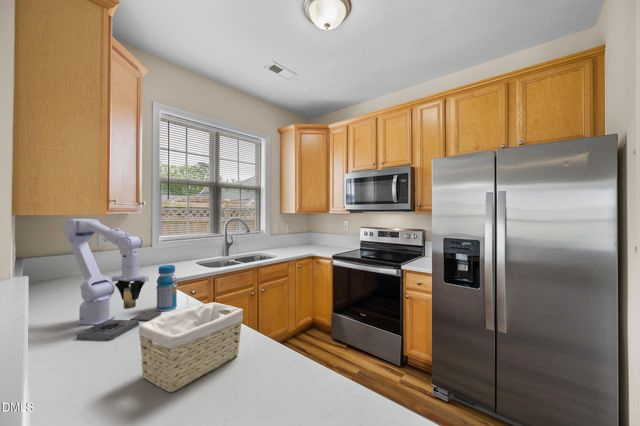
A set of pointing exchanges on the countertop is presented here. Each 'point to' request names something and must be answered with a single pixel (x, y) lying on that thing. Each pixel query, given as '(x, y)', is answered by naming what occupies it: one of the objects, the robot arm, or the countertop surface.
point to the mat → (146, 316)
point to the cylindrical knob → (128, 298)
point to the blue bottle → (166, 288)
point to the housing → (107, 330)
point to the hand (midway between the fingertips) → (130, 299)
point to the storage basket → (189, 344)
